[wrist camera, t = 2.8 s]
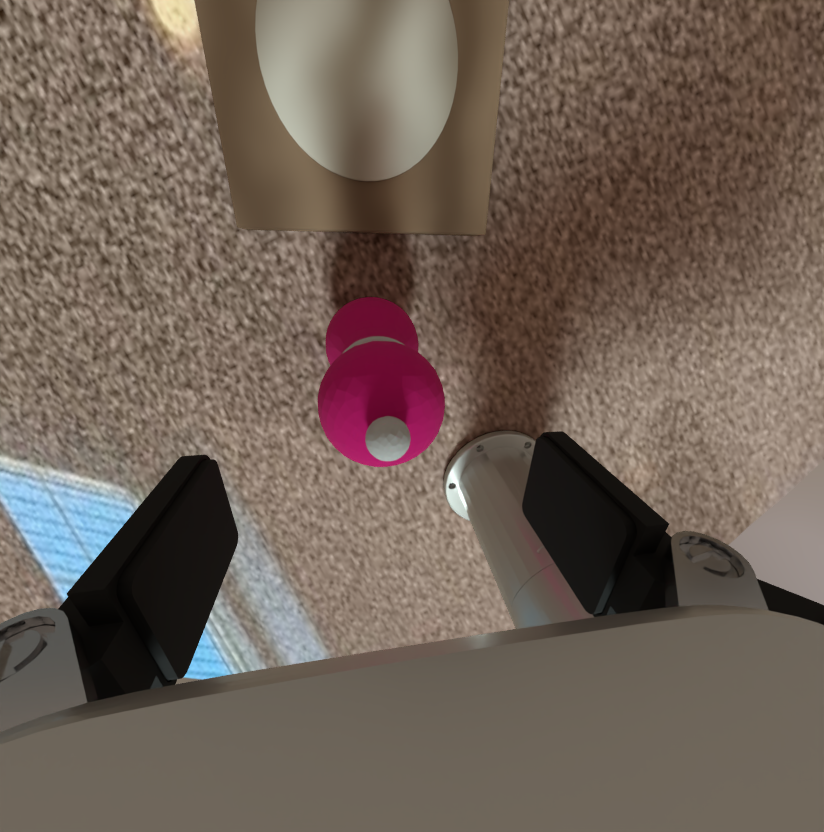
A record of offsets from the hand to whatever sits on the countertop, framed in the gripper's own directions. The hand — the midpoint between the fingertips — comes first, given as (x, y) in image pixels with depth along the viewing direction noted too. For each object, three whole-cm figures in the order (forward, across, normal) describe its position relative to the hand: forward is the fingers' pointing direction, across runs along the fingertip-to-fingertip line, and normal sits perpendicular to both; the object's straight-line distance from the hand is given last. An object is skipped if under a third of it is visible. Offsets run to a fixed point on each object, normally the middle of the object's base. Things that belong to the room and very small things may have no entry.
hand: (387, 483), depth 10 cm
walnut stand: (+22, 0, -16) cm, 28 cm away
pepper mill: (+23, 0, +1) cm, 23 cm away
